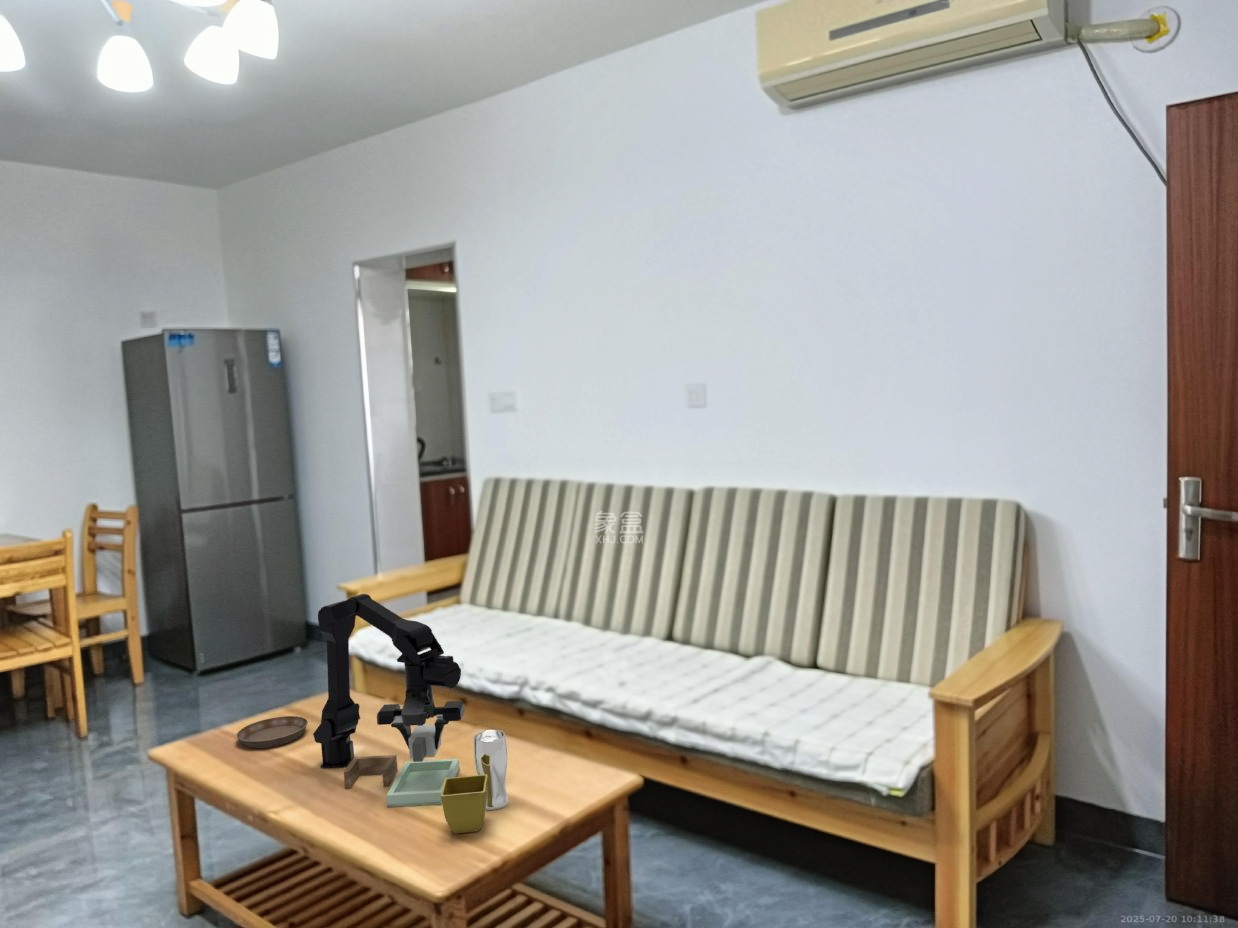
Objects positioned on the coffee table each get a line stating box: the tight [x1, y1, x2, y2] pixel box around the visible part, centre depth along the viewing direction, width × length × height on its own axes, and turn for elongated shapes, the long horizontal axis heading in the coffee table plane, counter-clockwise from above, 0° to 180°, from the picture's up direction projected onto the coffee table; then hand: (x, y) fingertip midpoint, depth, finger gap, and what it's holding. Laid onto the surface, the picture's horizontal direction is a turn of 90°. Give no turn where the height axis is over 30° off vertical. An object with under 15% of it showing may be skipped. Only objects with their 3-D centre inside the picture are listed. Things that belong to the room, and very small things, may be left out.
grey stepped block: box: [408, 724, 442, 762], centre depth 205 cm, size 6×12×5 cm, turn 0°
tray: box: [386, 758, 461, 808], centre depth 204 cm, size 12×18×3 cm
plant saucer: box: [236, 715, 309, 749], centre depth 241 cm, size 18×18×3 cm
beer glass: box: [473, 729, 509, 811], centre depth 194 cm, size 7×7×15 cm
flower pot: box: [441, 774, 488, 834], centre depth 184 cm, size 9×9×9 cm
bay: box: [343, 754, 399, 790], centre depth 210 cm, size 10×8×4 cm
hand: (423, 749), depth 206 cm, fingers closed on grey stepped block, 5 cm apart
